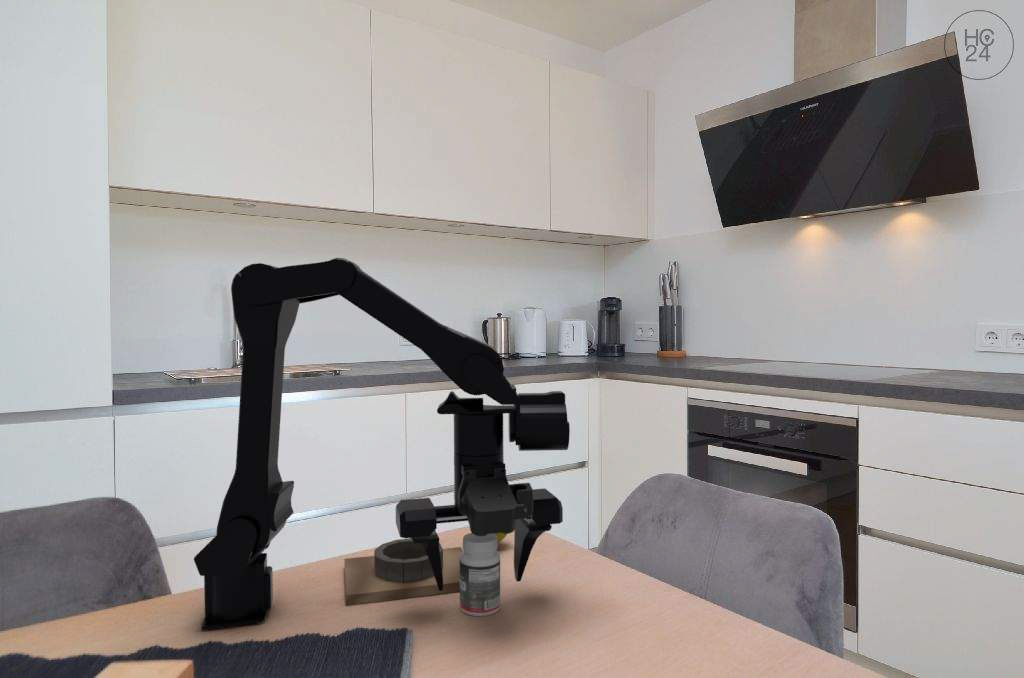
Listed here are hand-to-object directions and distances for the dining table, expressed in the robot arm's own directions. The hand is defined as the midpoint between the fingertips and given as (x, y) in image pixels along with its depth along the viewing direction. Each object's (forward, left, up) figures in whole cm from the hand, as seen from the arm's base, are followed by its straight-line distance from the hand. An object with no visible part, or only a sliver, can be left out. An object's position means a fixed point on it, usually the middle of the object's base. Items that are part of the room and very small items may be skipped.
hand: (479, 585), depth 74 cm
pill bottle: (0, 0, -3) cm, 3 cm away
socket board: (-7, +11, -3) cm, 13 cm away
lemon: (+6, +19, -3) cm, 20 cm away
